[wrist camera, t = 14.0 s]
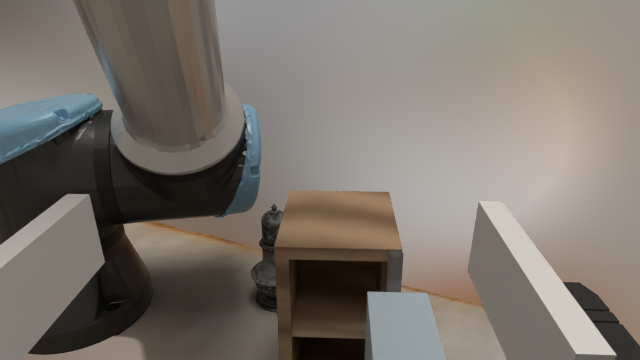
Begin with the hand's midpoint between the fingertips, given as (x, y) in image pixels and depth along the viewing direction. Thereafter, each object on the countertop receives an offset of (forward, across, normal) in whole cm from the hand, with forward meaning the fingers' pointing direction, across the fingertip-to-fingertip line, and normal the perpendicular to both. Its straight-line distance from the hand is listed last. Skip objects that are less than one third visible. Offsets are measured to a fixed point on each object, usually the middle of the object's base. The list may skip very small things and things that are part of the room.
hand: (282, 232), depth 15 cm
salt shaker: (+29, -5, -26) cm, 39 cm away
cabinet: (+18, +2, -25) cm, 31 cm away
